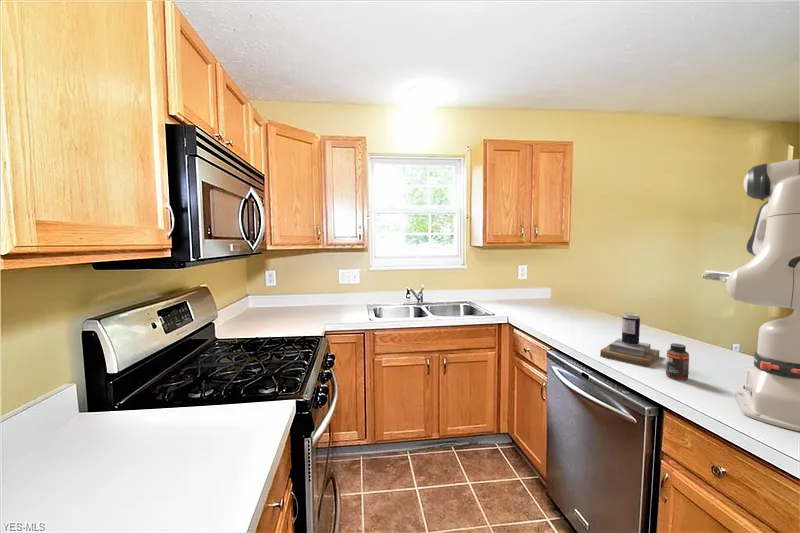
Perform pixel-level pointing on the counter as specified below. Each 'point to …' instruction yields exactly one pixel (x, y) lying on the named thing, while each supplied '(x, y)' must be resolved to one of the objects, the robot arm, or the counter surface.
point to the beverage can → (630, 329)
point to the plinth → (630, 357)
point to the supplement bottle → (677, 362)
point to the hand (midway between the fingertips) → (714, 278)
